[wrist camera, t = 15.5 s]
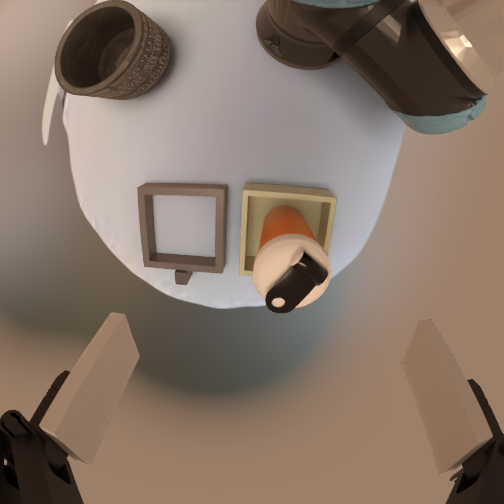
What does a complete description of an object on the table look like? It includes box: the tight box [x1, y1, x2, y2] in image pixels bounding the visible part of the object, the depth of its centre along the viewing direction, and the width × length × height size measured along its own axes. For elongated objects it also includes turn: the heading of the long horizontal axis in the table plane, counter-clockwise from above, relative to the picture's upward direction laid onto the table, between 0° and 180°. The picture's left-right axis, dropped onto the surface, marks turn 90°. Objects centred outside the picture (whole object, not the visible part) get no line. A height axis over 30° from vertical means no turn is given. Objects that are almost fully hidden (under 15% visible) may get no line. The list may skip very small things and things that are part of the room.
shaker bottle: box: [253, 206, 331, 313], centre depth 38 cm, size 9×9×20 cm
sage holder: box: [239, 183, 337, 276], centre depth 45 cm, size 14×14×6 cm
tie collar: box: [137, 183, 227, 285], centre depth 47 cm, size 17×14×4 cm
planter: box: [55, 0, 171, 100], centre depth 30 cm, size 14×14×15 cm
